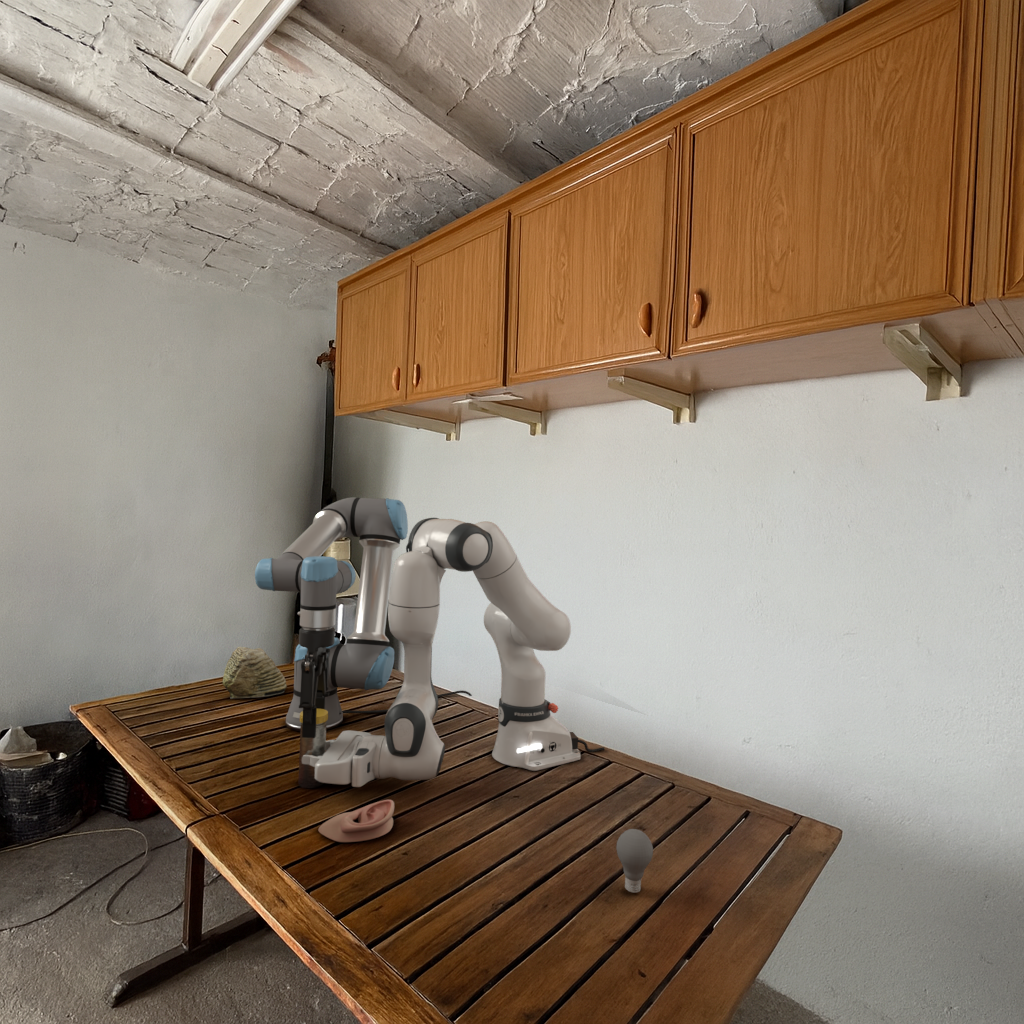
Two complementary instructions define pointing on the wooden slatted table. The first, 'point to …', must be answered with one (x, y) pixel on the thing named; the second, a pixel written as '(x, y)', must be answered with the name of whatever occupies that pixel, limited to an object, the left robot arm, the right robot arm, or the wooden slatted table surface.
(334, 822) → the anatomical model
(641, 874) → the light bulb
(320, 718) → the lid
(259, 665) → the fossil
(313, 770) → the jar
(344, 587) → the left robot arm
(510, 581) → the right robot arm
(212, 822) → the wooden slatted table surface
